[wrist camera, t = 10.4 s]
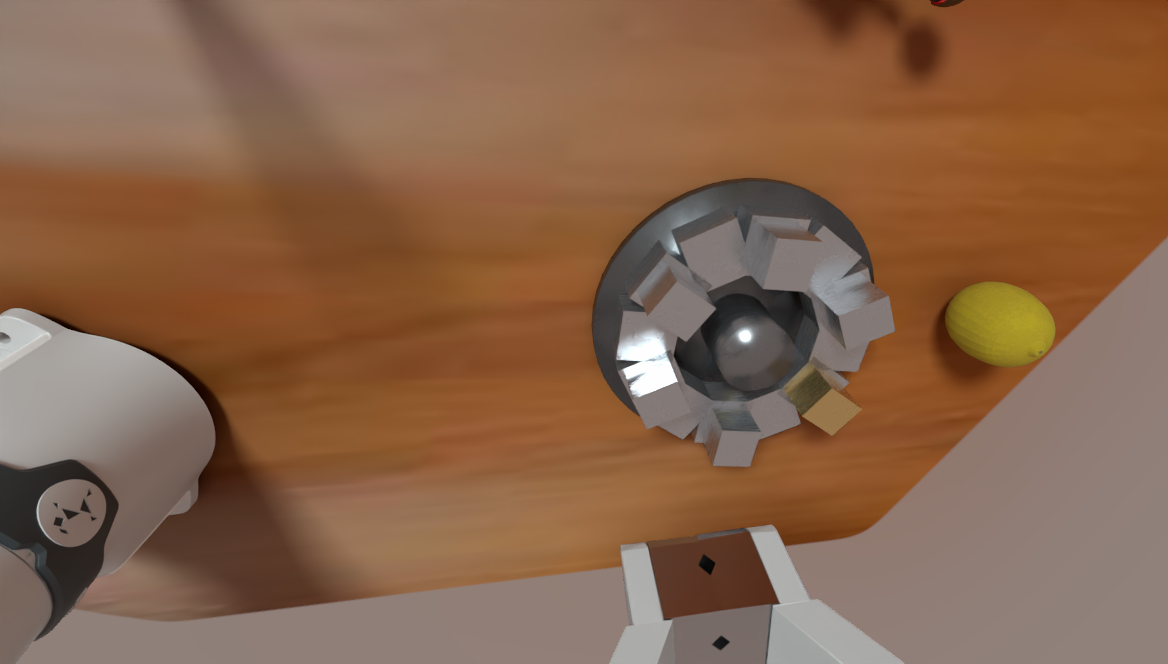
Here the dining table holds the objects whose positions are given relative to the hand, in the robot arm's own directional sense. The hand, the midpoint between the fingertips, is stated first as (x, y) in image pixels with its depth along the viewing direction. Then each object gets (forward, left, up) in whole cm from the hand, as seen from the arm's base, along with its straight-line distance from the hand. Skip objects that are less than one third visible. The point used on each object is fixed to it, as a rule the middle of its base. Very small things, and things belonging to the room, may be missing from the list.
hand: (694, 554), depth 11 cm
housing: (+8, -13, -29) cm, 33 cm away
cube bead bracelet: (+8, -13, -28) cm, 32 cm away
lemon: (+25, -17, -29) cm, 42 cm away
